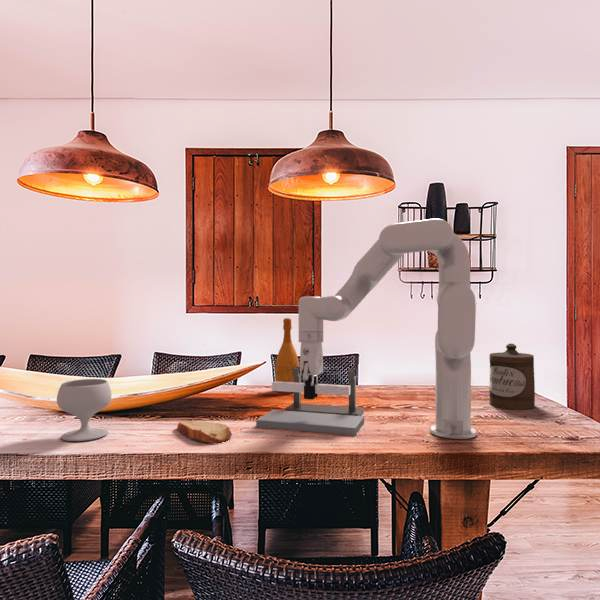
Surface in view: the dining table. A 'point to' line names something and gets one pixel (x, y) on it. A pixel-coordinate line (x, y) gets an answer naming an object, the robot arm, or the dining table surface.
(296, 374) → the rack
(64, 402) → the chalice
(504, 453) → the dining table surface
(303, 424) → the board
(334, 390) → the rail
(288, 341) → the wine bottle
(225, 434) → the bread slice
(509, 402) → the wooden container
